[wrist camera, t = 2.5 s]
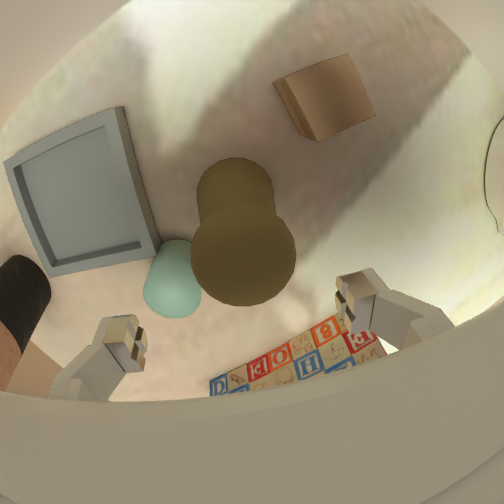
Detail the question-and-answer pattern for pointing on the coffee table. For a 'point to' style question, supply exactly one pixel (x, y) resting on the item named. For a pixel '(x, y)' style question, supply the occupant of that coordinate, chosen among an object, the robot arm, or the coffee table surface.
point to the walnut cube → (325, 98)
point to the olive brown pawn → (240, 236)
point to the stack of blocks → (303, 358)
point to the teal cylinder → (172, 281)
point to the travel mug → (19, 310)
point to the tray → (84, 196)
